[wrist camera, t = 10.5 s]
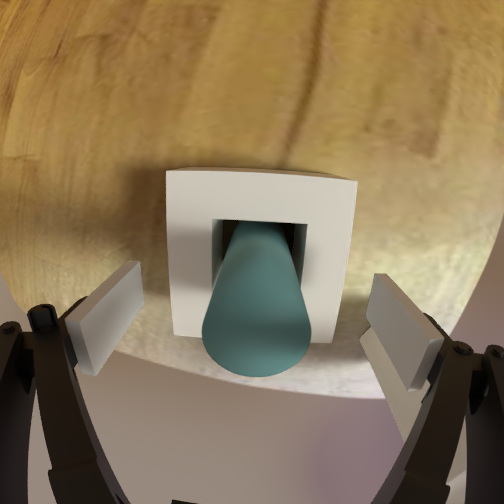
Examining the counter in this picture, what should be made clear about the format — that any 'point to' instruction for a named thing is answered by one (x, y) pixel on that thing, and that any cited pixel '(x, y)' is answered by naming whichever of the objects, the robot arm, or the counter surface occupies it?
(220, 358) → the peg
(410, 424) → the milk
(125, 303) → the robot arm
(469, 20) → the counter surface
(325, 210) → the socket
